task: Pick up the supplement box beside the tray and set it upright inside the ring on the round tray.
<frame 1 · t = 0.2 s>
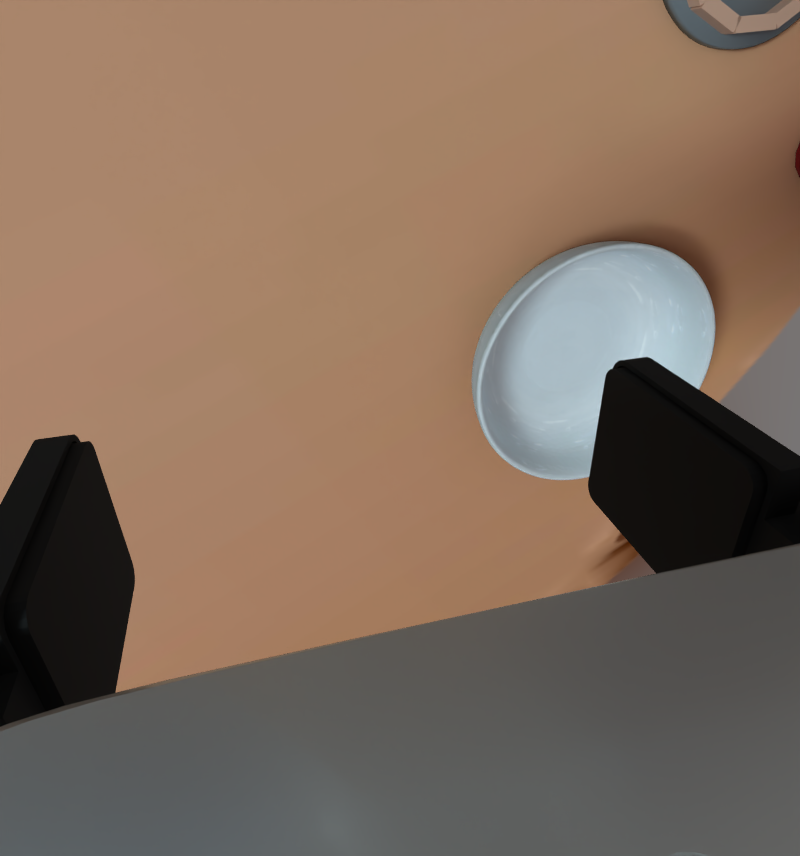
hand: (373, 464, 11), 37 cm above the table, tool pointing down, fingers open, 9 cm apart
serving bowl: (559, 343, 55), on the table
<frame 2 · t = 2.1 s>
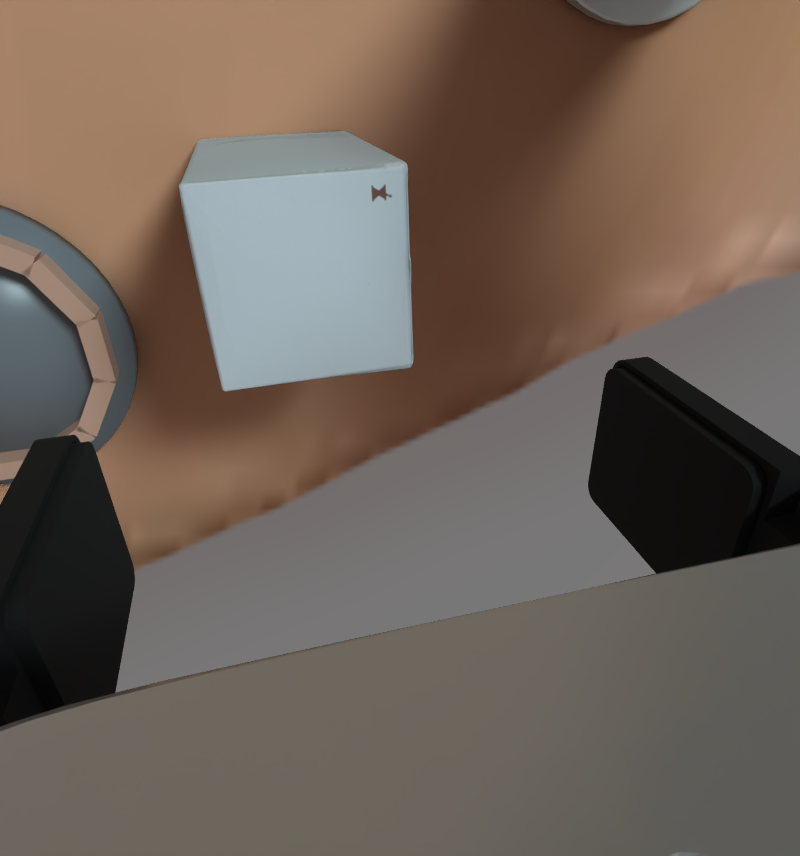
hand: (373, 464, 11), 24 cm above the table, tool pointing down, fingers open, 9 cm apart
supplement box: (282, 211, 31), on the table
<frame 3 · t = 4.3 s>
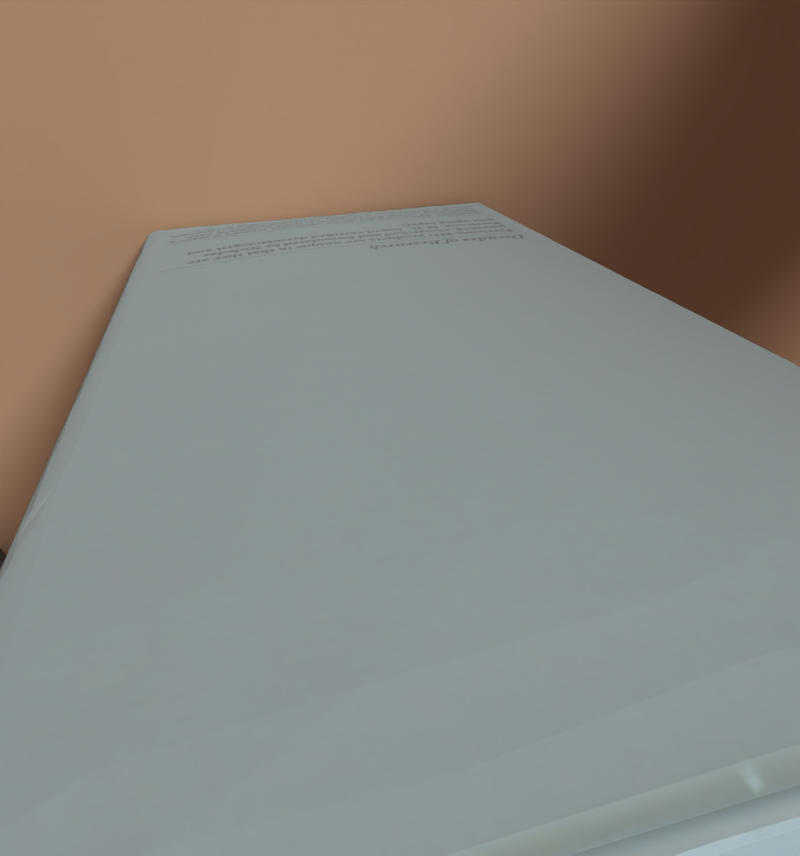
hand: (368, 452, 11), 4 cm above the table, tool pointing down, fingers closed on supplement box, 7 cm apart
supplement box: (334, 363, 15), on the table, touching gripper
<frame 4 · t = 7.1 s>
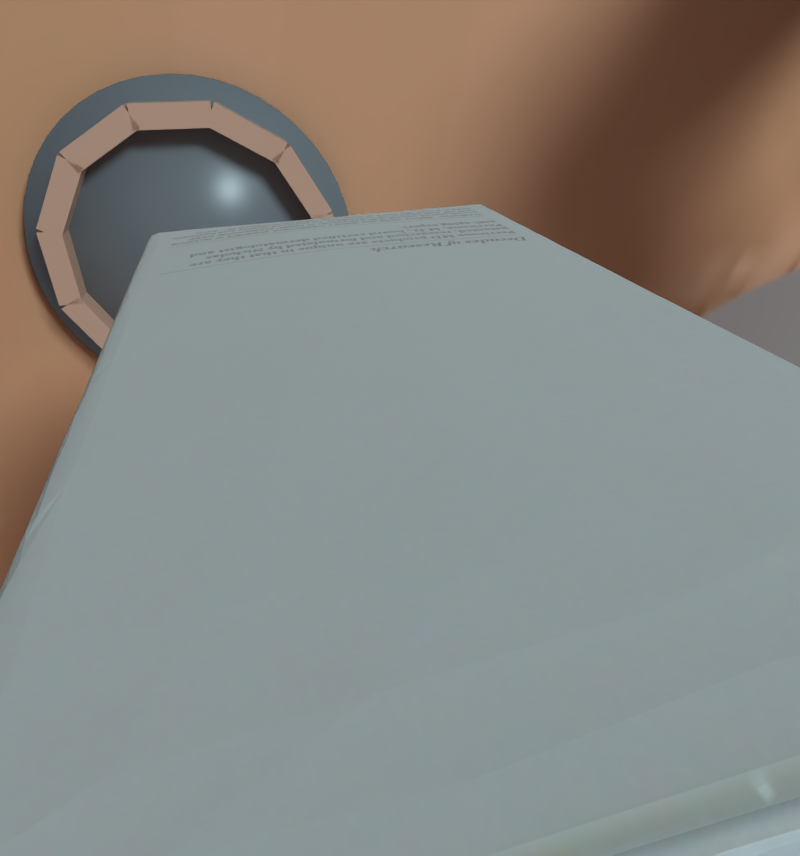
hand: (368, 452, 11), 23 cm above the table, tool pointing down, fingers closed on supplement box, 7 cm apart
ring tray: (200, 247, 30), on the table
supplement box: (336, 365, 15), point 18 cm above the table, touching gripper
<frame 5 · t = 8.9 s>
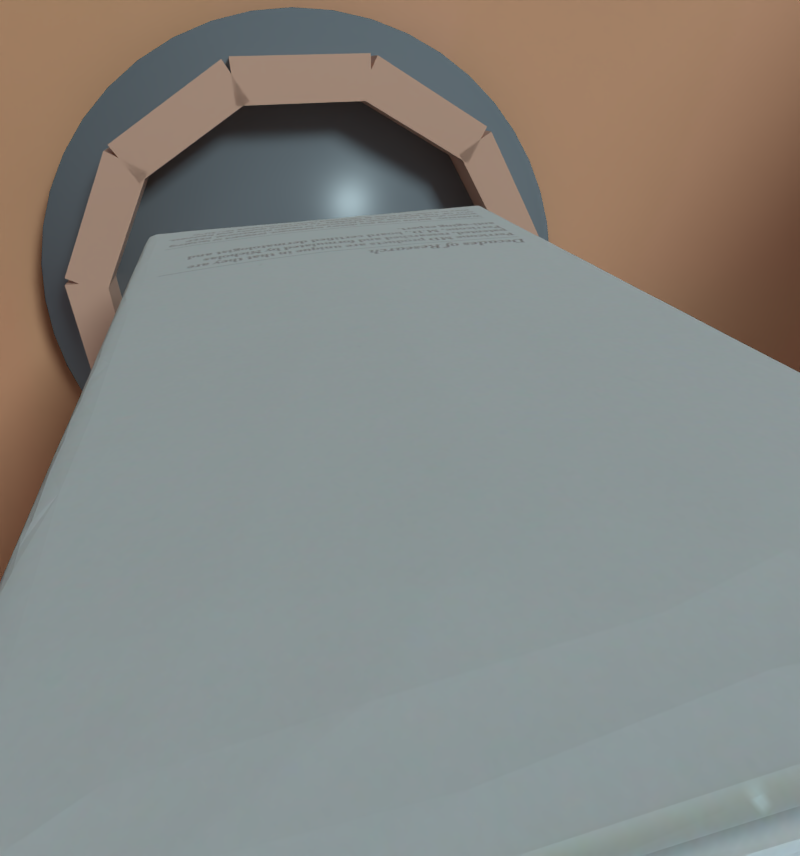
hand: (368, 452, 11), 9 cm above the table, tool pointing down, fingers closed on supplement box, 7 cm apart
ring tray: (316, 296, 19), on the table
supplement box: (334, 366, 15), point 5 cm above the table, touching gripper
when the fingers open (6 cm above the table, at t = 10.2 s): supplement box stays where it is, resting on ring tray.
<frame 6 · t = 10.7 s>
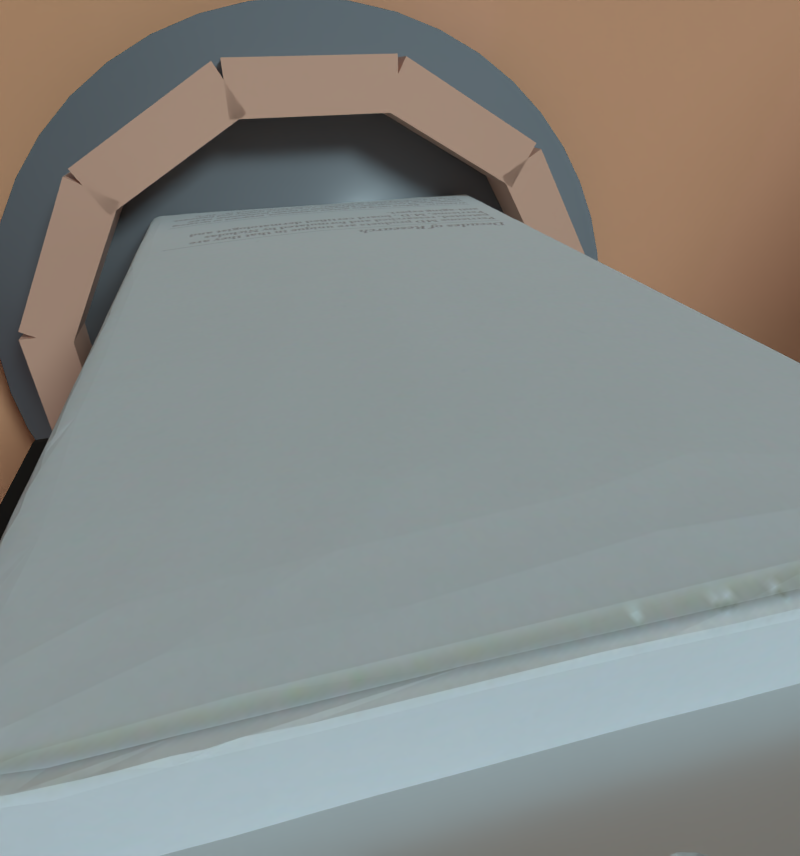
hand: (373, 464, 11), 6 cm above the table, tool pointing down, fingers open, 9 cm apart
ring tray: (325, 339, 16), on the table
supplement box: (328, 347, 16), point 1 cm above the table, touching ring tray
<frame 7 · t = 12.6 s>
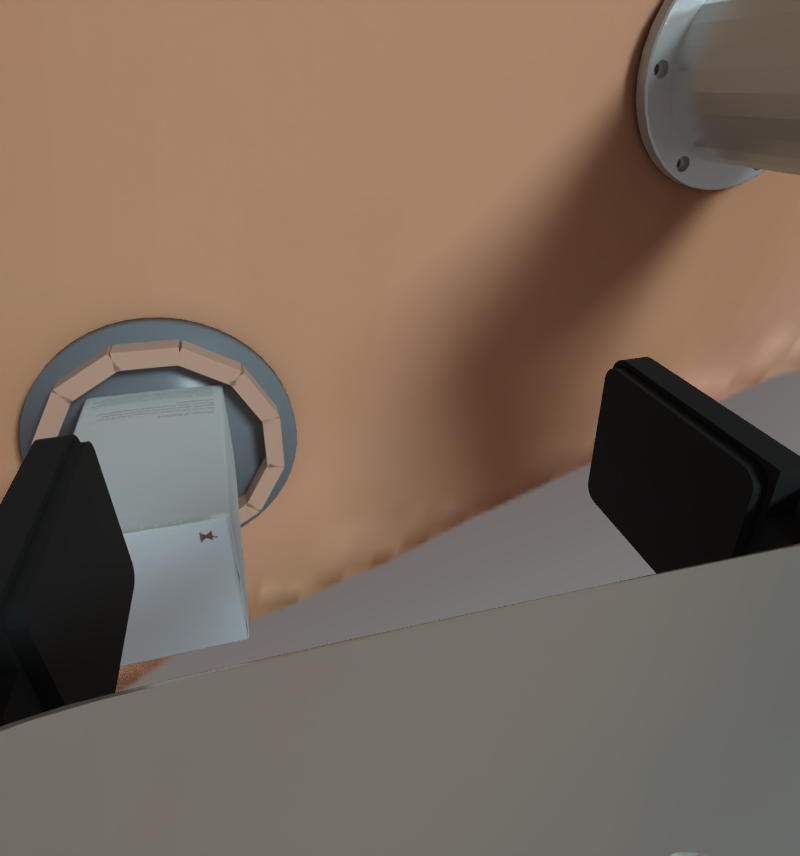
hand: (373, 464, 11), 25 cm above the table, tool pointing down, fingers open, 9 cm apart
ring tray: (168, 438, 36), on the table
supplement box: (166, 443, 35), point 1 cm above the table, touching ring tray
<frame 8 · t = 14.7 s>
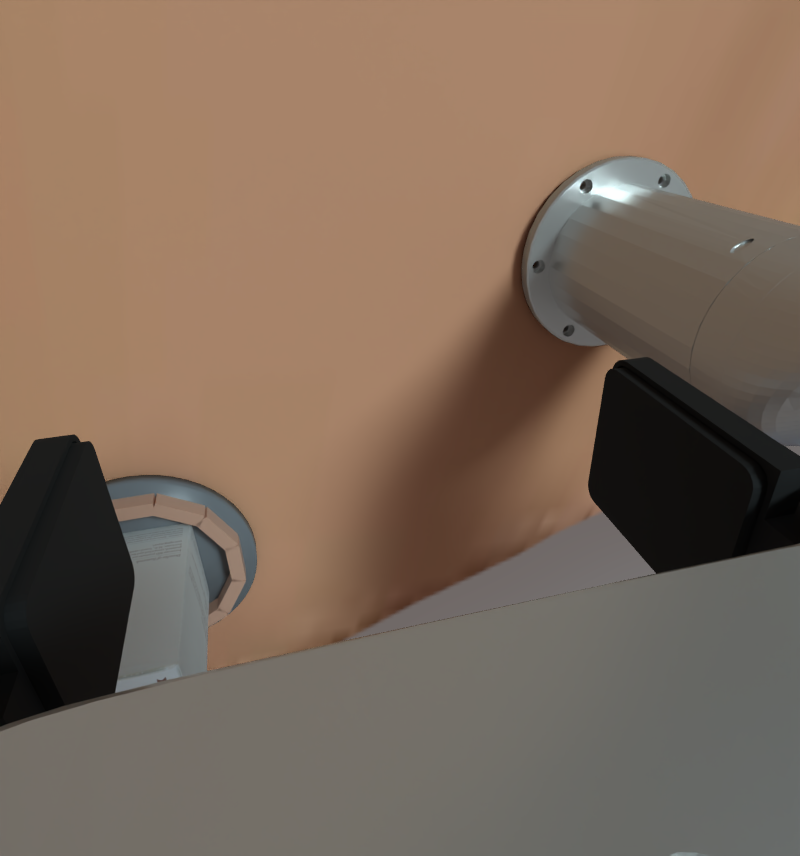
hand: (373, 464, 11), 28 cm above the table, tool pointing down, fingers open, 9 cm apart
ring tray: (152, 559, 45), on the table
supplement box: (150, 566, 44), point 1 cm above the table, touching ring tray
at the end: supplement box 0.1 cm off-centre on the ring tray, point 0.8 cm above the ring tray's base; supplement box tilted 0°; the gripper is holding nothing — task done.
